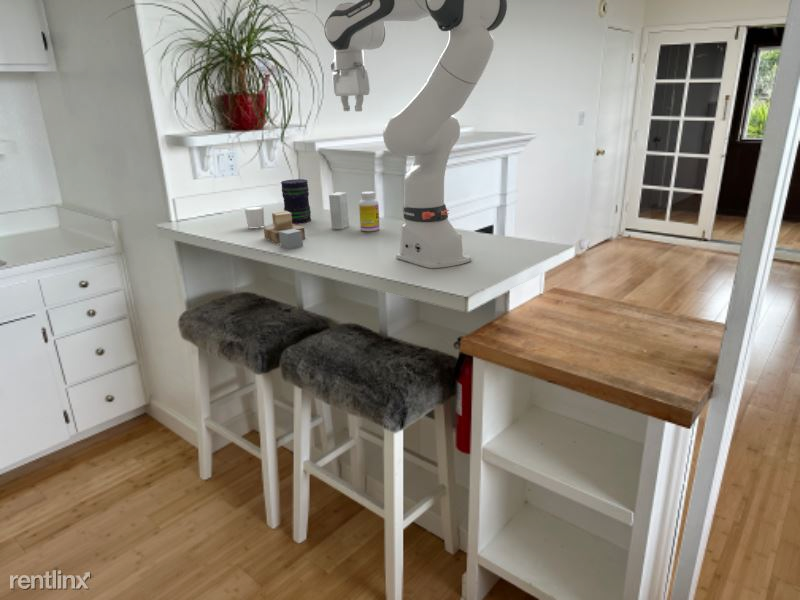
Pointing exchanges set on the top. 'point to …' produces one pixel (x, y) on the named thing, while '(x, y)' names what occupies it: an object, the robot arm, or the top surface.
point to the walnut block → (274, 233)
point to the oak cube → (282, 220)
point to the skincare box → (339, 210)
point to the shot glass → (255, 216)
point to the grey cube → (290, 238)
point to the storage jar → (296, 200)
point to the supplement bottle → (369, 212)
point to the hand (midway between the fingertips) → (352, 111)
